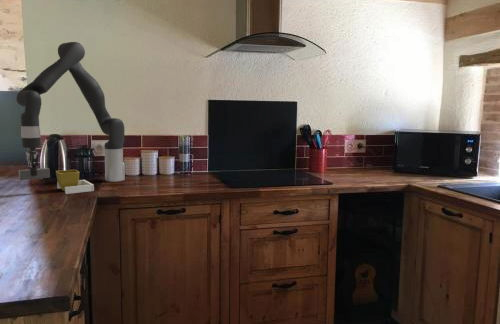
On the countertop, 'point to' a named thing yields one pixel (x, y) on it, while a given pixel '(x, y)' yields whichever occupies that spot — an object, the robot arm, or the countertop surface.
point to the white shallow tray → (79, 187)
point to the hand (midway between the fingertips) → (33, 174)
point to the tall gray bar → (40, 174)
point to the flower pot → (67, 178)
